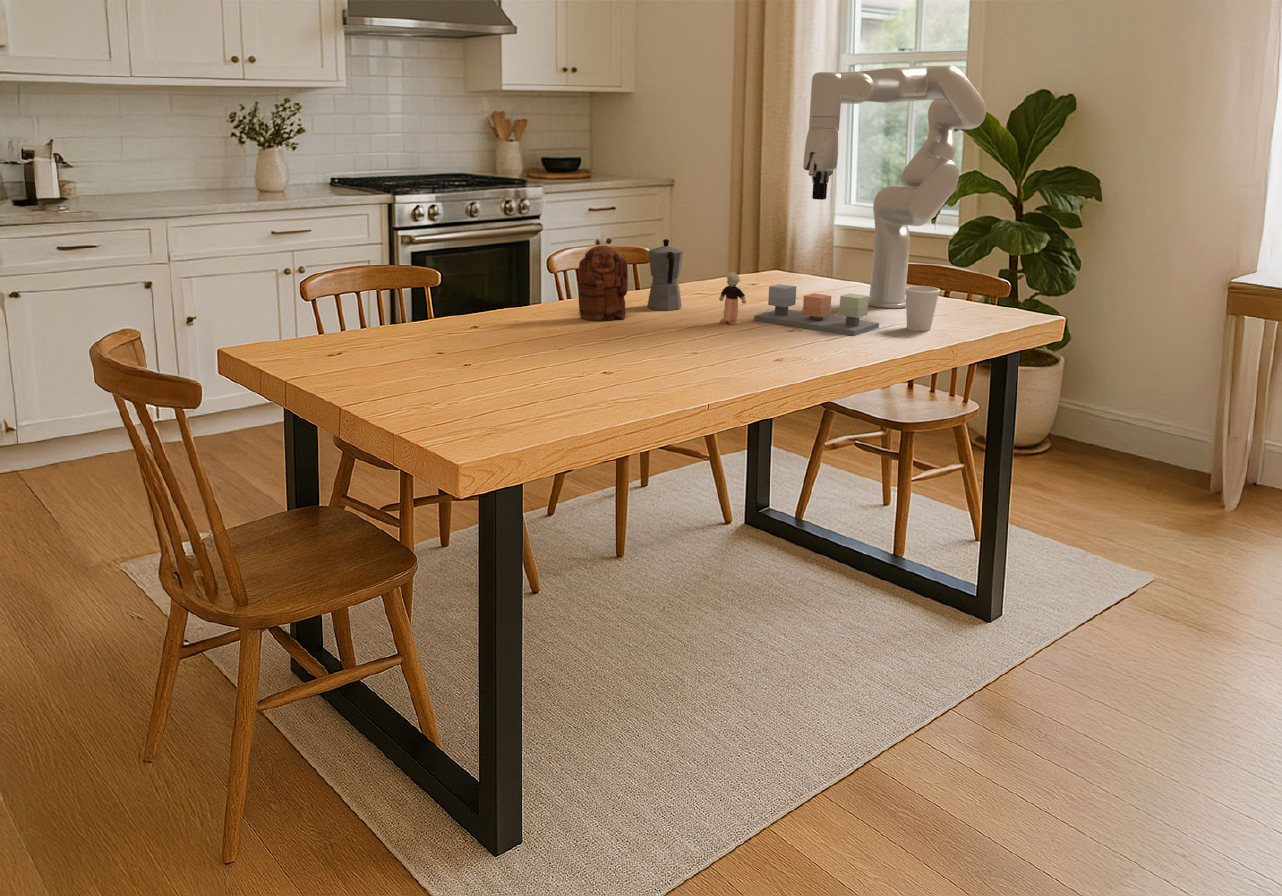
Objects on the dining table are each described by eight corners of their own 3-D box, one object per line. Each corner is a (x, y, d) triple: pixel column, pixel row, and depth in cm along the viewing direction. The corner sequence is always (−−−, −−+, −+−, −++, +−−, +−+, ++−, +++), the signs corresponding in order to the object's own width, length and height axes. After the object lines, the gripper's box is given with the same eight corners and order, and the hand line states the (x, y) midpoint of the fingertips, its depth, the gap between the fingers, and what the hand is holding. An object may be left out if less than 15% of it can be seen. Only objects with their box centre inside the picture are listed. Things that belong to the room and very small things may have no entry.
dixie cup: (937, 333, 263) (941, 292, 259) (901, 331, 264) (905, 290, 261) (935, 326, 270) (939, 286, 267) (900, 324, 272) (904, 284, 269)
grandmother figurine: (713, 322, 270) (715, 271, 266) (719, 320, 273) (722, 269, 269) (742, 326, 266) (744, 274, 262) (748, 323, 269) (750, 272, 266)
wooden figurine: (583, 322, 268) (583, 248, 262) (577, 317, 273) (577, 245, 268) (629, 320, 271) (630, 247, 266) (622, 315, 277) (623, 244, 271)
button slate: (778, 302, 279) (779, 284, 277) (795, 304, 276) (796, 286, 275) (768, 305, 275) (769, 286, 274) (785, 307, 272) (786, 288, 271)
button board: (780, 313, 284) (781, 300, 283) (878, 327, 268) (880, 314, 267) (754, 320, 274) (754, 306, 273) (854, 335, 258) (855, 321, 257)
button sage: (848, 312, 267) (850, 293, 266) (867, 315, 264) (868, 295, 263) (838, 315, 264) (840, 296, 262) (857, 318, 261) (859, 298, 259)
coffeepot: (642, 303, 294) (644, 236, 288) (677, 303, 295) (679, 236, 290) (652, 314, 279) (654, 243, 274) (688, 313, 281) (690, 243, 275)
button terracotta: (812, 312, 273) (813, 293, 272) (830, 314, 271) (831, 295, 269) (802, 314, 270) (803, 295, 268) (820, 317, 267) (821, 298, 265)
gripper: (825, 123, 280) (820, 196, 286) (796, 124, 269) (791, 200, 274) (851, 124, 276) (846, 198, 281) (823, 125, 264) (817, 202, 270)
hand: (819, 199), depth 278 cm, fingers closed
